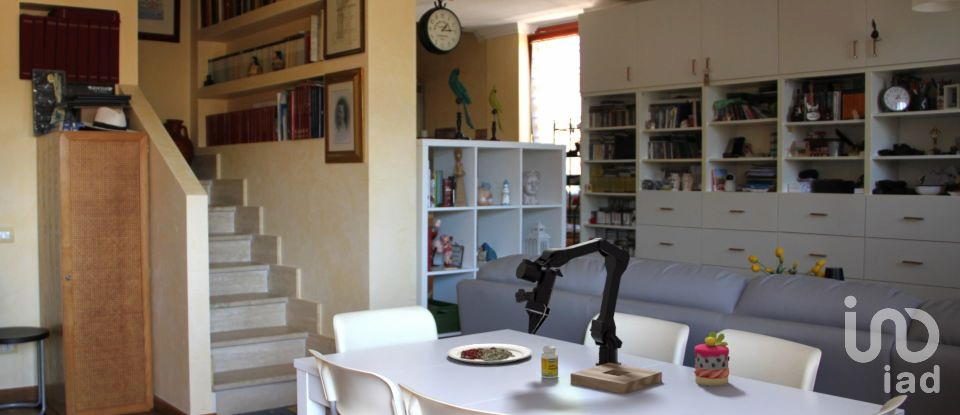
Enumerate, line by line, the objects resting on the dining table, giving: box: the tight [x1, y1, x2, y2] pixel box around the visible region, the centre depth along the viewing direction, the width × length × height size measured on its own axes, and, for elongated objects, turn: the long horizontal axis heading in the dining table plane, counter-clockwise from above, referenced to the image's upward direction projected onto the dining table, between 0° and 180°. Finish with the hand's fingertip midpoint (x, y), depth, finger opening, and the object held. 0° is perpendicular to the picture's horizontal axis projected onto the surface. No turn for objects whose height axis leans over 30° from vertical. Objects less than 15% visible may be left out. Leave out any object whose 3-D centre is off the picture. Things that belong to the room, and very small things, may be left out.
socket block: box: [570, 363, 663, 395], centre depth 269 cm, size 20×20×3 cm
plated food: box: [447, 343, 533, 365], centre depth 310 cm, size 30×30×3 cm
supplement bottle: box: [540, 345, 559, 380], centre depth 277 cm, size 5×5×10 cm
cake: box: [693, 331, 730, 387], centre depth 267 cm, size 10×11×15 cm
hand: (531, 333), depth 280 cm, fingers open, 9 cm apart
